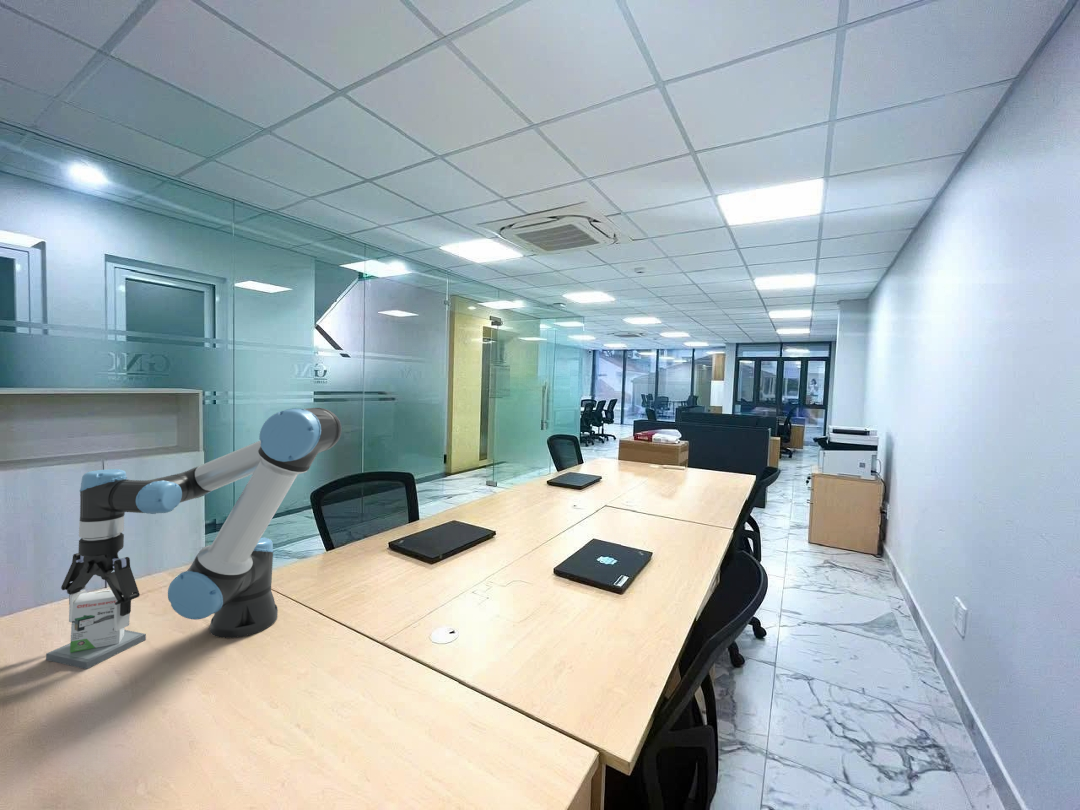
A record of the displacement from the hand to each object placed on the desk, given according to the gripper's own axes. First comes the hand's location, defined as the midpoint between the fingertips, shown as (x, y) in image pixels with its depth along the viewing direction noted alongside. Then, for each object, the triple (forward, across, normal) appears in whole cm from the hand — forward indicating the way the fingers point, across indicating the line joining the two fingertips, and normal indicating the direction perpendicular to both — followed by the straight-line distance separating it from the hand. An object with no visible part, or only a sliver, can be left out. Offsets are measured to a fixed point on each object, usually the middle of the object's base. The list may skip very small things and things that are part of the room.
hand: (99, 623), depth 103 cm
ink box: (+5, 0, 0) cm, 5 cm away
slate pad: (+6, 0, 0) cm, 6 cm away
